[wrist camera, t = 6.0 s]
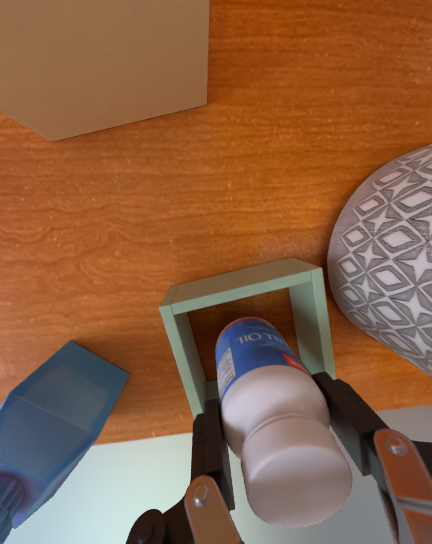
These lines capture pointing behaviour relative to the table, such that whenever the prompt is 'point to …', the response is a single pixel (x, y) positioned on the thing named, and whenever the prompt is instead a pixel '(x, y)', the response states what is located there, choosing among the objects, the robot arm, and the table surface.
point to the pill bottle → (278, 427)
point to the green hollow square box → (240, 284)
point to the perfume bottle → (51, 428)
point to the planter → (388, 257)
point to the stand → (100, 62)
